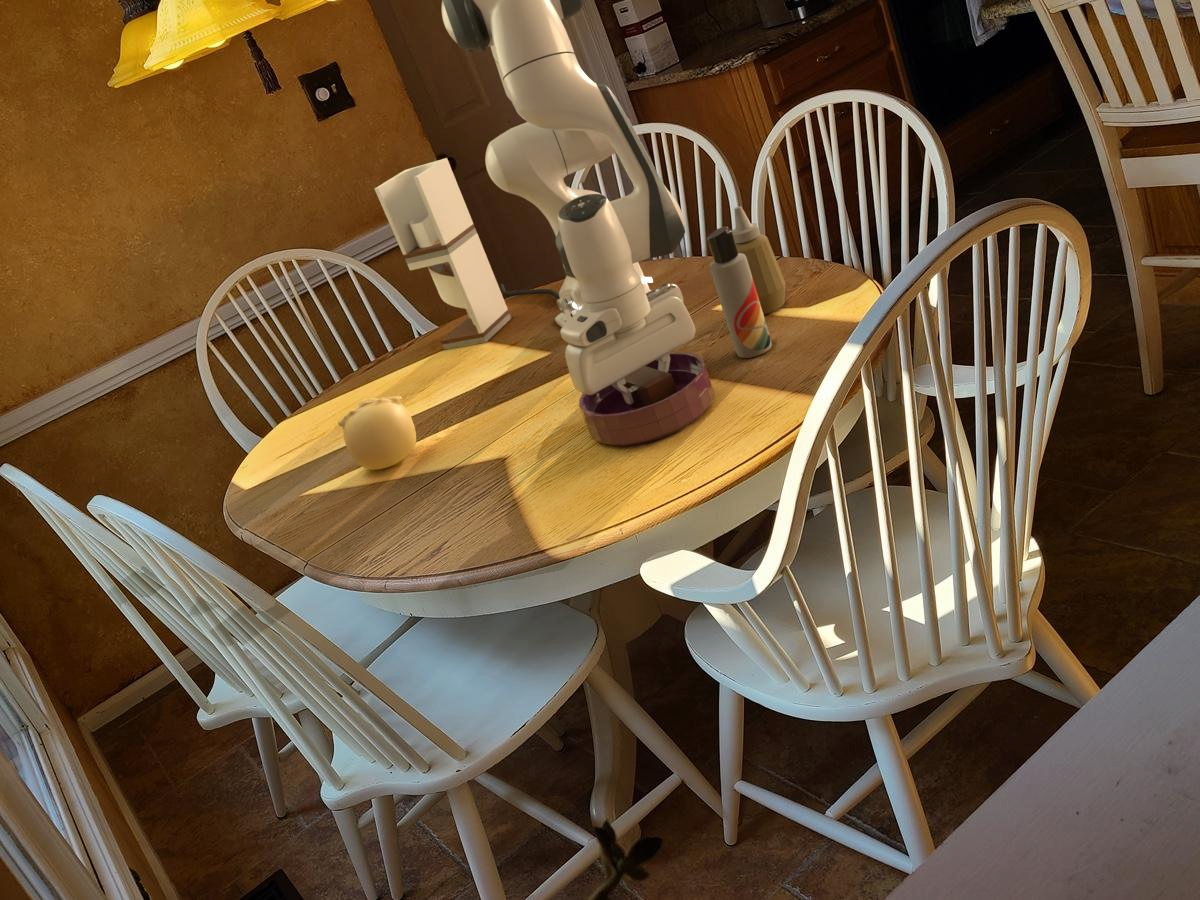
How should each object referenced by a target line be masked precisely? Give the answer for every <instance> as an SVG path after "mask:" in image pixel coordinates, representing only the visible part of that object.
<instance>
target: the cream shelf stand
mask: <svg viewBox="0 0 1200 900" xmlns="http://www.w3.org/2000/svg"><path fill="white" fill-rule="evenodd" d="M374 191H375V193H376V196H377V198H378V200H379V203H380V205H381V207H382V210H383V212H384V215H385V216H386V219H387V221H388V224H389V226H390V229H391V230H392V232H393V233H392V234H393V235H394V237H395V239H396V242H397V244H398V246H399V249H400V251H401V253H402V256H403V258H404V261H405V263H406V264H407V265H406V266H407V267H408V270H409V271H415V270H419V269H423V268H427V269H428V271H429V274H430V276H431V278H432V280H433V284H434V286H435V288H436V291H437V293H438V295H439V297H440V299H441V300H442V301H443V302H444V303H445V304H447V305H449V306H452V307H454V308H459V309H465V311H466V314H467V317H466V318H465V319H463V321H461V322H460V323H459V324H458V325H456V327H454V328H453V329H452V330H451V331H450V332H449V333H447V334H446V335H445V336H444V337H442V339H440V343H441V345H442V347H443V350H444V351H446V350H451V349H457V348H462V347H466V346H472V345H479V344H483V343H487V342H489V340H490V339H492V337H493V336H494V335H496V334H497V332H499V331H500V330H501V329H502V328H503V327H504V326H505V325H506V324H507V323H508V322H509V321H510V320H512V316H511V314H510V311H509V309H508V306H507V304H506V301H505V299H504V297H503V296H504V295H503V294H502V292H501V290H500V285H499V283H498V281H497V278H496V276H495V274H494V271H493V269H492V266H491V263H490V261H489V259H488V256H487V254H486V252H485V249H484V247H483V244H482V241H481V239H480V237H479V234H478V232H477V229H476V227H475V224H474V222H473V219H472V217H471V214H470V211H469V209H468V207H467V203H466V202H465V200H464V197H463V194H462V192H461V190H460V187H459V185H458V182H457V180H456V176H455V174H454V172H453V170H452V167H451V164H450V161H449V160H448V157H445V158H442V159H439V160H435V161H432V162H428V163H425V164H421V165H418V166H417V165H416V166H414V167H410V168H407V169H404V170H403V171H401V172H399V173H397V174H396V175H394V176H393V177H391V178H389V179H388V180H386V181H385V182H382V183H381V184H379V185H378V186H377V187H374Z"/></svg>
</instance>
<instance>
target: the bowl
mask: <svg viewBox="0 0 1200 900" xmlns="http://www.w3.org/2000/svg"><path fill="white" fill-rule="evenodd" d="M669 356H670V364H669V370H668V373H669V374H671V375H672V378H673V381H674V384H675V387H676V390H677V393H675V394H673V395H671V396H670V397H668V398H666V399H663V400H661V401H659V402H657V403H654V404H652V405H649V406H646V407H643V408H637V407H634V406H631V405H629V404H628V403H626V401H625V399H624V398H623V395H622V393H621V392H620V391H618V390H617V389H616V388H614V387H613V386H612V385H609V386H607V387H606V388H604V389H602V390H600V391H599V392H597V393H595V394H593V395H587V394H584V393H581V395H580V398H579V399H578V407H579V410H580V412H581V415H582V418H583V421H584V423H585V425H586V428H587V430H588V431H587V432H588V433H589V435H590V436H591V438H592V439H593V440H595V441H597V442H599V443H601V444H606V445H610V446H616V447H617V446H618V447H626V446H627V447H628V446H635V445H636V446H637V445H641V444H646V443H650V442H654V441H657V440H660V439H664V438H666V437H668V436H670V435H672V434H674V433H677V432H679V431H680V430H682V429H684V428H686V427H688V426H690V424H692V423H693V422H694V421H696V420H697V419H698V418H700V417H701V416H702V415H703V414H704V412H705V411H706V410H707V409H708V407H709V406H710V404H712V402H713V399H714V397H715V390H714V387H713V386H714V385H713V383H712V380H711V378H710V374H709V371H708V368H707V366H706V362H705V359H704V358H702V357H701V356H700V355H699V354H695V353H692V352H687V351H686V352H685V351H671V352H669ZM658 365H659V361H657V360H654V361H652V362H651V363H649V364H647V365H645V366H646V367H650V368H653V369H656V370H658Z"/></svg>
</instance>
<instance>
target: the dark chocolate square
mask: <svg viewBox="0 0 1200 900" xmlns="http://www.w3.org/2000/svg"><path fill="white" fill-rule="evenodd" d="M624 379H625V382H626V384H624V385H623V386H624V387H626V388H627V389H629V388H631V389H634V390H636V393H637V396H638V400H637V401H636V402H634V403H632V404H629V405H631V406H634V407H637V408H643V407H646V406H649V405H652V404H654V403H657V402H659V401H661V400H663V399H666V398H668V397H670V396H671V395H673V394H675V393H677V390H676V387H675V384H674V381H673V378H672V375H671V374H669V373H666V372H663V371H660V370H656V369H653V368H650V367H646V366H643V367H642V368H640V369H638V370H636V371H634V372H633V373H631V374H629V375H627V376H625V377H624ZM622 395H623V394H622ZM623 398H624V397H623Z"/></svg>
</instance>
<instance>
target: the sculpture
mask: <svg viewBox="0 0 1200 900" xmlns="http://www.w3.org/2000/svg"><path fill="white" fill-rule="evenodd" d="M337 425H339V426H340V427H341V428H342V432H343V434H342V435H343V440H344V443H345V446H346V449H347V451H348V453H349V455H350V456H351V458H352V459H353V460H354V461H355V462H356V464H357V465H359V466H360V467H362V468H363V469H367V470H374V471H375V470H382V469H386V468H389V467H392V466H394V465H396V464H398V463H400V462H401V461H403V460H405V458H406V457H408V456H409V455H410V454H411V453H412V452H413V450H414V448H415V446H416V443H417V431H416V427H415V424H414V421H413V418H412V416H411V414H410V412H409V410H408V409H407V408H406V407H405V406H404V405H403V397H402V396H401V395H393V396H384V397H381V398H378V397H377V398H376V397H368V398H364V399H363V400H361V401H360V402H359V403H358V405H356V406H355V407H354V408H353V409H351V410H349V411H348V412H347V413H346V414H345V415H344V416H342V417H341V418H340V419H339V420H338V421H337Z"/></svg>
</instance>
